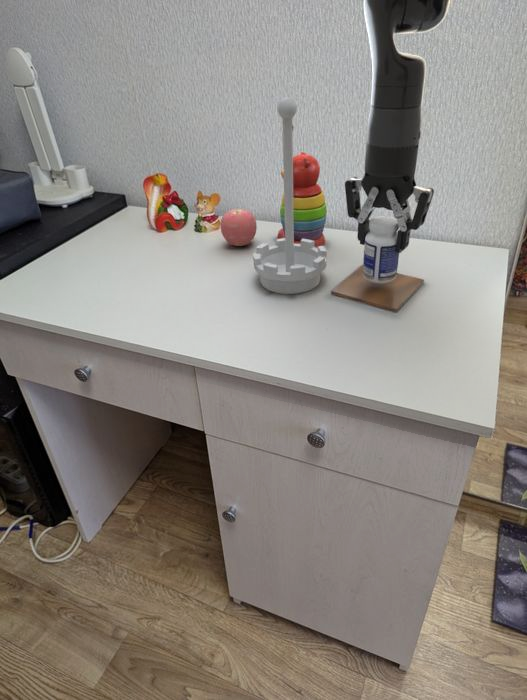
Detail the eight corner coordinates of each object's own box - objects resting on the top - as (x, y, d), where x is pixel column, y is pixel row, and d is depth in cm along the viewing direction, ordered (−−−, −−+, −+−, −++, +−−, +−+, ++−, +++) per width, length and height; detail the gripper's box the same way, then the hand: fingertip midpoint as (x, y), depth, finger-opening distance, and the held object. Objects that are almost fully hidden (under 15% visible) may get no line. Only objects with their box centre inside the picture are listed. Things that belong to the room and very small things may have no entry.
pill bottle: (398, 271, 86) (404, 215, 80) (394, 286, 82) (400, 228, 76) (365, 268, 88) (369, 213, 82) (359, 282, 83) (363, 225, 78)
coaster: (424, 282, 87) (424, 279, 87) (396, 312, 79) (396, 309, 79) (362, 267, 93) (362, 264, 93) (330, 293, 85) (330, 290, 85)
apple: (220, 239, 107) (217, 203, 102) (254, 235, 108) (251, 199, 103) (224, 253, 101) (220, 215, 96) (259, 249, 102) (257, 211, 97)
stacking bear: (277, 233, 108) (275, 148, 98) (323, 232, 108) (326, 146, 97) (277, 254, 99) (274, 163, 89) (327, 253, 99) (330, 161, 88)
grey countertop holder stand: (321, 299, 84) (325, 104, 66) (247, 294, 86) (233, 106, 69) (329, 265, 94) (335, 90, 77) (263, 262, 97) (254, 91, 79)
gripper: (336, 139, 73) (332, 246, 83) (431, 149, 66) (415, 265, 75) (359, 129, 78) (353, 231, 88) (450, 137, 71) (432, 247, 80)
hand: (382, 246), depth 81 cm, fingers closed on pill bottle, 5 cm apart
